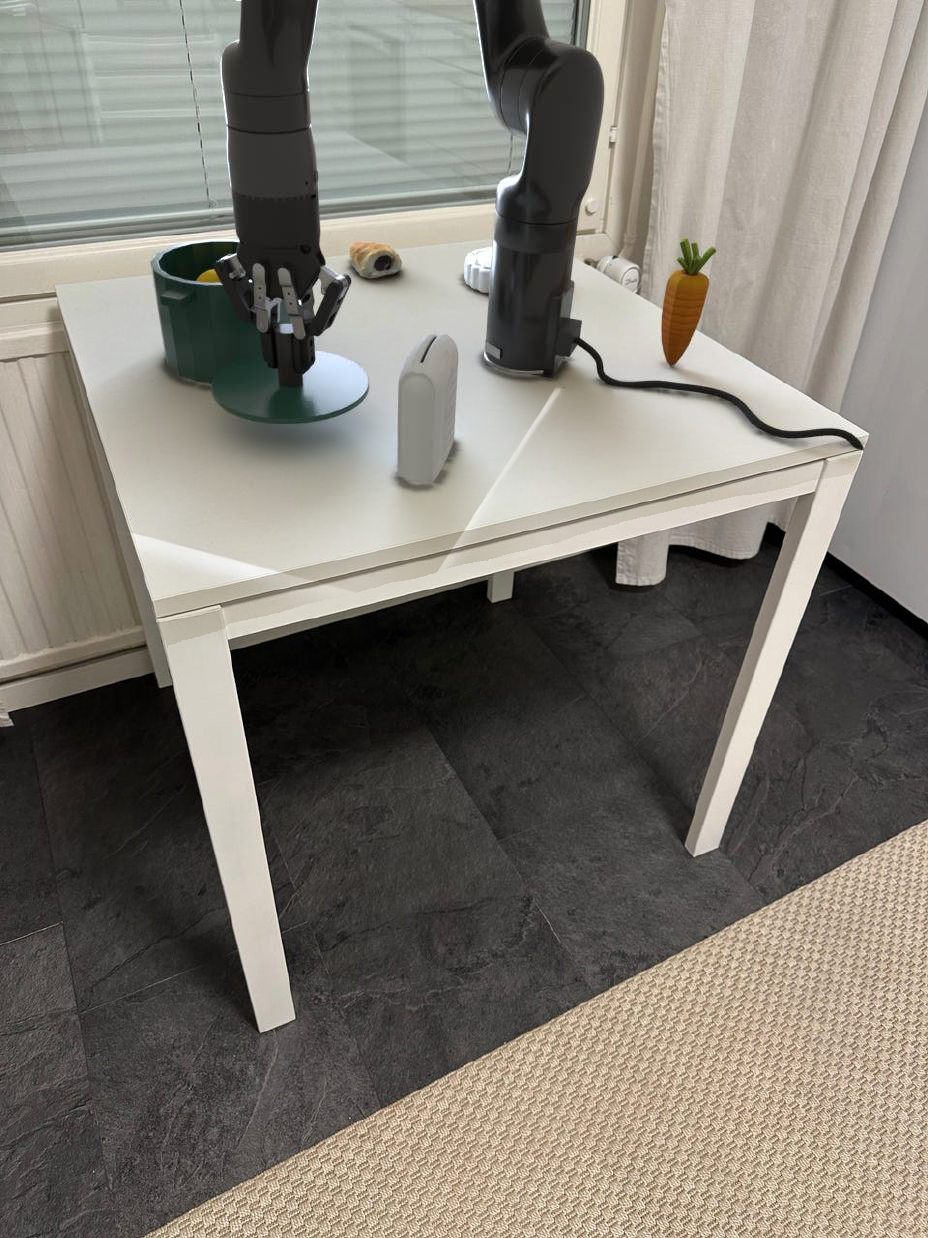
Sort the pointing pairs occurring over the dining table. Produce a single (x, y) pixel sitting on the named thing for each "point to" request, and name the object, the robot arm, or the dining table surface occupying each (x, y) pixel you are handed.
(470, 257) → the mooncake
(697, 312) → the carrot
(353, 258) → the pastry
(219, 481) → the dining table surface
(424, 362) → the photo printer
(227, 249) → the pot
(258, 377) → the lid
